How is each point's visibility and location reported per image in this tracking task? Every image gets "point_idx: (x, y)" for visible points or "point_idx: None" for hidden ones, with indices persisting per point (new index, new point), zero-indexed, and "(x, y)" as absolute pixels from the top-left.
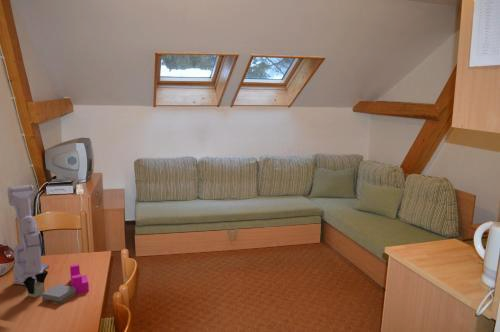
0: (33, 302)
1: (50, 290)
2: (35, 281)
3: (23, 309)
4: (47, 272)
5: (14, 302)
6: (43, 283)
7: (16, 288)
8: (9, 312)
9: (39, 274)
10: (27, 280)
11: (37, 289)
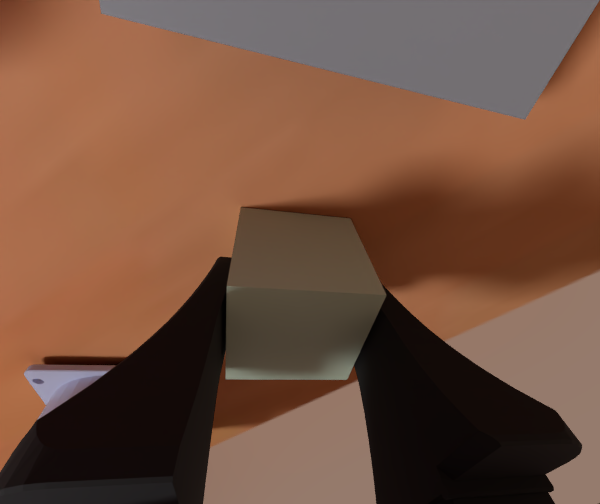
0: (455, 182)
1: (418, 11)
2: (226, 376)
3: (581, 187)
4: (38, 456)
5: (427, 311)
6: (235, 280)
7: (236, 396)
8: (586, 257)
9: (196, 473)
10: (545, 480)
11: (350, 263)
